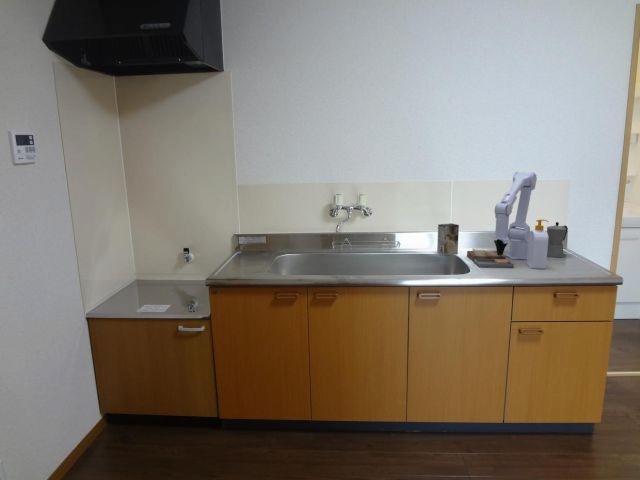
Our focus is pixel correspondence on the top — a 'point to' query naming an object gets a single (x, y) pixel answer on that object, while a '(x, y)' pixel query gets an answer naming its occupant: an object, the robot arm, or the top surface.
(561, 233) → the coffeepot
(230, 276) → the top surface
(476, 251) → the cream tile
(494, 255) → the walnut plate
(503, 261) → the terracotta tile
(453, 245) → the coffee box
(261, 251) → the top surface
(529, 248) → the soap bottle
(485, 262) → the box
